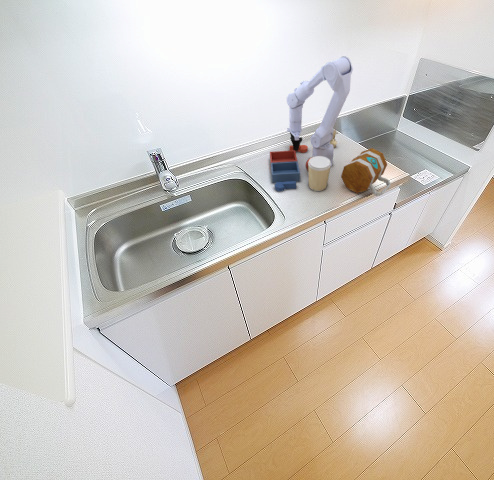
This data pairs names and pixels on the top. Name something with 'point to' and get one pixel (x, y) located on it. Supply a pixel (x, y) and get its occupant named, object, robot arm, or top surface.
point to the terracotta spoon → (300, 148)
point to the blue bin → (285, 172)
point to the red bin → (283, 156)
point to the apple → (307, 164)
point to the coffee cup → (318, 172)
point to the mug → (365, 172)
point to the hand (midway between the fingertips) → (295, 146)
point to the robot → (334, 139)
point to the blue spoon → (285, 185)
